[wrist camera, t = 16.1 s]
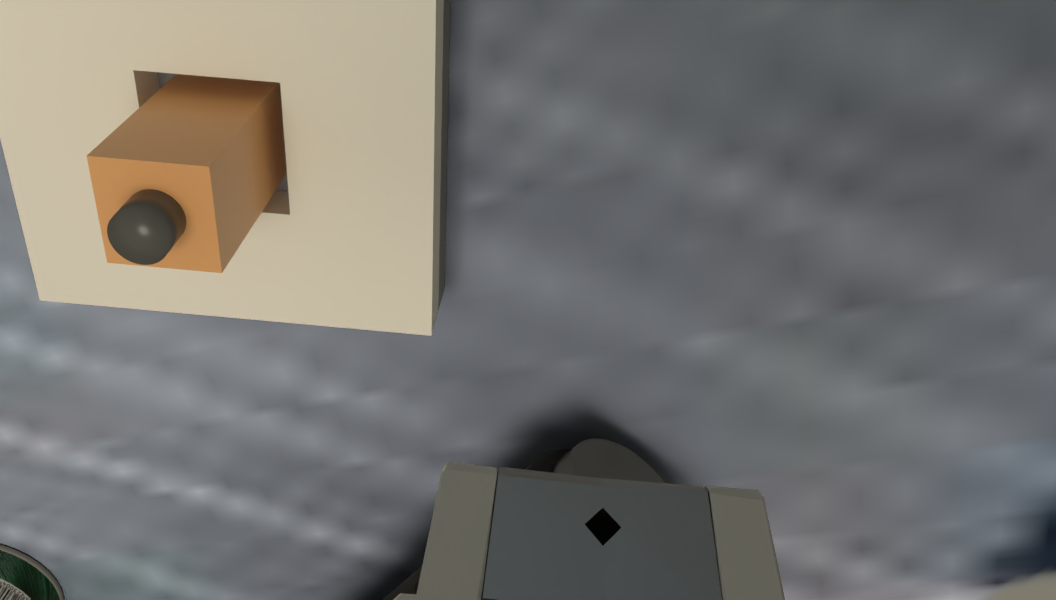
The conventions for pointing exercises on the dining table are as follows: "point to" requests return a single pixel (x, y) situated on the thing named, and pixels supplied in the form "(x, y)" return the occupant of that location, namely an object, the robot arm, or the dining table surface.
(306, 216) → the socket block
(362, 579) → the dining table surface
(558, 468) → the muzzle brake
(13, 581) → the canned tomato
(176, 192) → the plug
